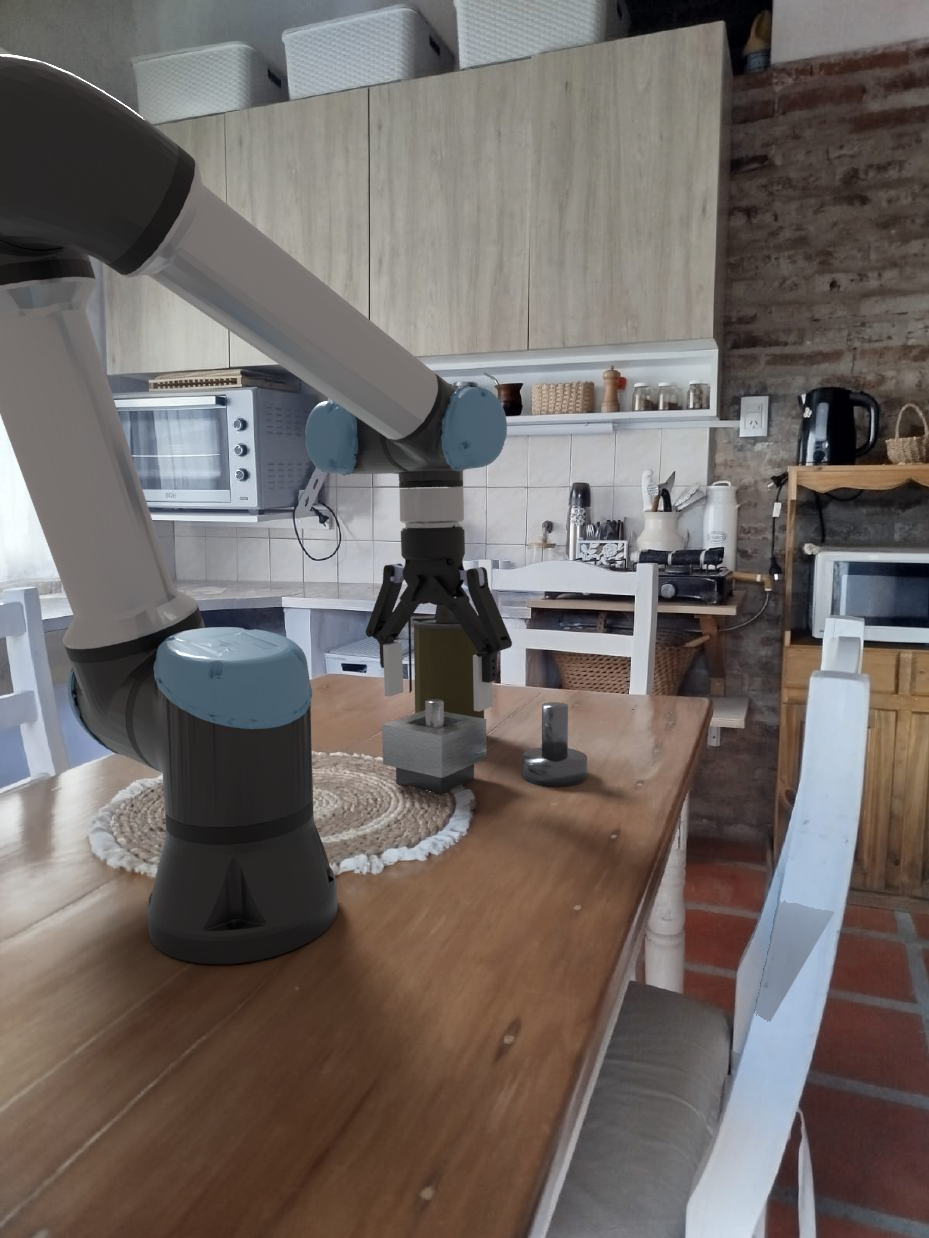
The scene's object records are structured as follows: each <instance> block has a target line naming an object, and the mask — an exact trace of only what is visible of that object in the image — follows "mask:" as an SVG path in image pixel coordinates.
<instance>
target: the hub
mask: <svg viewBox="0 0 929 1238" xmlns="http://www.w3.org/2000/svg"><path fill="white" fill-rule="evenodd" d="M568 743H569V704H567V703H564V702H557V701H555V702H554V701H553V702H551V701H549V702H545V703H542V704H541V747H537V748H532V749H529V750H527V751H524V752H523V754H522V755H521V756H522V759H521V761H522V769H521V772H522V778H523V779H524V780H525V781H526V782H529V783H531V784H534V785H538V786H542V787H543V786H544V787H552V788H553V787H559V788H560V787H570V786H571V787H572V786H576V785H579V784H581V783H584V782H585V781H586V780H587V779H588V755H586V753H585V752H582V751H580V750H578V749H572V748H568V747H569V744H568Z"/></svg>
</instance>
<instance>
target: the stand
mask: <svg viewBox="0 0 929 1238" xmlns="http://www.w3.org/2000/svg"><path fill="white" fill-rule="evenodd" d="M425 708H426V727H430V728H435V729H441V728H443V727H444V701H443V700H439V699H431V700H427V701H425ZM474 779H475V764H473V765H471V766H468V767H466V768H464V769H462V770H459V771H457V772H455V773H453V774H450V775H448V776H446V777H443V778H440V777H436V776H431V775H427V774H423V773H418V772H414V771H410V770H405V769H401V768H397V767H395V782H396V784H397V785H402V786H406V787H409V788H413V787H415V788H414V789H417V788H418V789H417V790H422V791H425V790H428V791H427V792H429V791H431V792H430V793H433V792H434V794H438V795H442V794H445V793H447V792H449V791H451V790H453V789H456V788H457V787H459V786H462V785H464V784H466V783H468V782H471V781H473V780H474Z"/></svg>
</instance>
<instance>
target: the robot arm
mask: <svg viewBox="0 0 929 1238" xmlns="http://www.w3.org/2000/svg"><path fill="white" fill-rule="evenodd" d="M90 257H93V258H94V259H96V260H98V261H100V262H101V263H103V264H105V265H106V266H107V267H109V268H111V269H112V270H113V271H115V272H117V273H118V274H120V275H121V276H123V277H125V278H127V279H130V278H133V277H139V276H140V277H141V276H149V277H150V278H151V279H152V280H154V281H156V282H157V283H159V284H160V285H162V287H164V288H166V289H167V290H169V291H171V292H172V293H173V294H175V295H176V296H178V297H179V298H180V299H182V300H184V301H185V302H187V303H188V304H190V305H191V306H193V307H194V308H195V309H197V310H198V311H199V312H200V313H203V314H204V315H206V316H208V318H210V319H211V320H212V321H214V322H216V323H218V324H219V325H220V326H222V327H224V328H225V329H226V330H228V331H229V332H231V333H232V334H234V335H235V336H237V337H238V338H240V339H241V340H243V341H244V342H246V343H247V344H249V345H250V346H251V347H253V348H255V349H256V350H257V351H259V352H260V353H261V354H263V355H265V356H266V357H268V359H270V360H272V361H273V362H275V363H276V364H278V365H280V366H281V367H282V368H284V369H285V370H287V371H288V372H290V373H291V374H293V375H294V376H296V377H297V378H299V379H300V380H301V381H303V382H304V383H306V384H307V385H309V386H310V387H311V388H313V389H315V390H316V391H318V392H319V393H320V394H322V395H323V396H325V397H327V398H328V399H329V400H324V401H322V402H320V403H318V404H316V405H315V407H314V408H313V409H312V410H311V411H310V413H309V415H308V417H307V420H306V425H305V430H304V431H305V433H304V434H305V448H306V451H307V454H308V457H309V459H310V461H311V462H312V464H313V465H314V467H316V469H318V470H320V471H321V472H323V473H325V474H336V475H337V474H340V475H342V476H349V475H380V474H381V475H383V474H384V475H385V474H394V475H398V482H399V483H398V488H399V521H400V522H401V523H402V524H405V527H402V529H401V530H400V548H401V549H400V550H401V551H400V554H401V557H402V558H403V559H404V565H403V564H402V563H392V564H385V565H384V567H383V569H382V571H383V573H382V583H381V586H380V589H379V591H378V595H377V598H376V601H375V604H374V607H373V610H372V612H371V615H370V618H369V621H368V623H367V626H366V629H365V635H366V637H368V638H373V639H374V640H376V641H377V643H378V645H379V664H380V667H381V668H382V669H383V676H384V677H383V678H384V680H383V681H384V683H383V684H384V696H385V697H388V698H389V697H392V696H393V697H394V696H397V695H399V694H402V693H404V671H403V670H404V669H403V642H402V641H399V640H400V637H399V635H400V633H401V632H402V631H403V629H404V627H405V626H406V625H407V624H408V620H409V619H410V618H411V617H413V615H414V613H415V611H416V610H417V608H418V607H419V606H420V605H426V604H431V605H435V606H437V605H443V604H444V605H445V607H446V608H447V609H449V610H451V611H452V613H453V614H454V616H455V617H456V619H457V620H458V622H459V623H460V625H461V626H462V628H463V629H464V631H465V632H466V634H467V635H468V637H469V638H470V640H471V641H472V643H473V644H474V646H475V647H476V649H477V650H478V654H476V655H473V688H474V711H482V710H484V711H485V710H486V709H490V708H492V707H493V682H495V681H496V680H497V678H498V653H499V652H501V651H504V650H506V649H509V648H511V647H512V645H513V641H512V639H511V635H510V634H509V632H508V630H507V626H506V623H504V620H503V617H502V614H501V613H500V611H499V607H498V605H497V603H496V600H495V598H494V596H493V594H492V590H491V588H490V587H489V579H488V571H487V568H486V567H484V566H479V567H475V568H474V567H473V568H469V569H465V568H464V564H463V559H464V556H465V555H466V546H465V544H466V542H465V538H466V537H465V529H464V527H463V526H460V523H461V522H463V521H464V520H465V505H464V504H465V502H464V500H465V499H464V471H465V470H471V469H478V468H479V469H480V468H484V467H487V466H489V465H490V464H492V463H493V462H494V461H496V460H497V459H498V457H499V456H500V455H501V453H502V451H503V449H504V445H505V442H506V439H507V434H508V433H507V432H508V423H507V417H506V412H505V410H504V407H503V404H502V403H501V402H500V400H499V398H498V397H497V396H496V394H494V393H493V392H492V391H491V390H489V389H487V388H484V387H481V386H472V387H471V386H469V385H462V386H459V388H457V387H454V386H452V385H451V384H450V383H449V382H447V381H446V380H445V379H444V378H442V376H439V375H438V374H437V373H436V372H434V371H433V369H431V368H429V367H428V366H427V365H426V364H425V363H423V362H422V361H421V360H420V359H418V358H417V357H416V356H415V355H413V354H412V353H411V352H409V351H408V349H406V348H405V347H403V346H402V344H400V343H399V342H398V341H396V340H395V339H394V338H392V337H391V336H390V335H388V333H386V332H385V331H384V330H383V329H381V328H380V327H379V326H378V325H377V324H375V322H373V321H372V320H370V319H369V318H368V317H367V316H366V315H364V314H363V313H362V312H360V311H359V310H358V309H356V307H354V306H353V305H352V304H350V303H349V302H348V301H347V300H345V299H344V298H343V297H342V296H341V295H339V294H338V293H337V292H336V291H335V290H334V289H333V288H331V287H330V286H328V285H327V284H326V283H325V282H323V281H322V280H321V279H320V278H318V277H317V276H316V275H315V274H314V273H313V272H311V271H310V270H309V269H307V267H305V266H304V265H303V264H302V263H300V262H299V261H298V260H297V259H296V258H294V257H293V256H291V255H290V254H289V253H288V252H287V251H285V250H284V249H283V248H282V247H281V246H279V245H278V244H277V243H275V242H274V241H273V240H272V239H270V238H269V237H268V236H267V235H266V234H264V233H263V232H262V231H261V230H260V229H259V228H257V227H256V226H255V225H254V224H252V223H251V222H250V221H248V220H247V219H246V218H245V217H244V216H242V215H241V214H240V213H239V212H238V211H236V210H235V209H234V208H233V207H231V206H230V205H229V204H228V203H227V202H225V201H224V200H223V199H222V198H220V197H219V196H218V195H217V194H215V193H214V192H213V191H212V190H210V189H209V188H208V187H207V186H206V185H204V184H203V181H202V177H201V171H200V166H199V163H198V161H197V159H195V157H193V156H192V155H191V154H189V153H188V152H187V151H186V150H185V149H183V148H182V147H180V145H178V144H177V142H175V141H174V140H172V139H171V138H170V137H169V136H167V135H166V134H165V133H164V132H162V131H161V130H160V129H159V128H157V127H156V126H155V125H154V124H152V122H150V121H149V120H147V119H146V118H144V117H143V116H141V115H140V114H139V113H137V112H136V111H135V110H133V109H131V108H130V107H129V106H127V105H125V104H124V103H123V102H121V101H120V100H118V99H117V98H115V97H113V96H112V95H110V94H109V93H107V92H105V90H103V89H100V88H99V87H97V86H95V85H93V84H92V83H90V82H88V81H86V80H85V79H82V78H81V77H79V76H77V75H76V74H74V73H72V72H69V71H66V70H64V69H62V68H59V67H57V66H54V65H52V64H49V63H47V62H45V61H42V60H38V59H34V58H30V57H25V56H21V55H13V54H0V418H1V420H2V423H3V426H4V429H5V432H6V434H7V436H8V440H9V442H10V446H11V447H12V450H13V454H14V456H15V459H16V461H17V463H18V467H19V470H20V473H21V475H22V478H23V480H24V483H25V486H26V489H27V492H28V494H29V497H30V500H31V501H32V502H31V503H32V504H33V505H32V506H33V508H34V511H35V513H36V515H37V519H38V522H39V524H40V527H41V530H42V533H43V536H44V537H45V541H46V543H47V547H48V549H49V551H50V555H51V557H52V560H53V563H54V565H55V568H56V571H57V574H58V576H59V579H60V582H61V585H62V587H63V591H64V592H65V593H64V594H65V595H66V599H67V600H68V604H69V605H70V606H69V607H70V609H71V612H72V614H73V617H72V618H73V619H72V621H71V622H70V624H69V626H68V628H67V629H66V632H65V633H64V635H63V637H62V643H63V646H64V648H65V651H66V654H67V657H68V660H69V661H70V665H71V669H70V671H69V673H68V674H69V675H68V680H67V696H68V701H69V702H68V703H69V706H70V710H71V711H72V713H73V715H74V718H75V719H76V721H77V723H78V724H79V725H80V727H81V728H82V729H83V730H84V731H85V732H86V734H88V736H90V738H91V739H93V740H94V741H96V742H97V744H99V745H100V746H103V747H104V748H106V750H108V751H111V753H114V754H117V755H121V756H124V757H126V758H127V759H128V758H129V759H131V760H132V761H136V762H138V763H140V764H142V765H144V766H147V767H149V768H151V769H153V770H155V771H158V772H159V773H162V784H163V800H164V801H163V802H164V817H165V839H164V844H163V847H162V851H161V853H160V858H159V862H158V866H157V871H156V874H155V878H154V883H153V886H152V887H153V888H152V890H151V893H150V895H149V897H148V901H147V909H146V910H147V911H146V913H147V916H146V917H147V930H148V932H147V933H148V937H149V940H150V942H151V943H152V945H153V946H154V947H155V948H156V949H157V950H158V951H161V952H162V953H163V954H166V955H167V956H169V957H171V958H175V959H178V960H181V961H185V962H190V963H196V964H205V965H206V964H209V965H228V964H229V965H230V964H240V963H241V964H242V963H248V962H256V961H260V960H264V959H269V958H273V957H277V956H280V955H283V954H285V953H288V952H292V951H293V950H296V949H297V948H300V947H303V946H304V945H307V944H309V943H311V942H312V941H313V940H316V938H319V936H320V935H322V934H323V933H324V932H326V930H328V929H329V928H330V926H331V925H332V924H333V922H334V921H335V920H336V917H337V915H338V909H339V904H338V903H339V902H338V882H337V879H336V875H335V872H334V870H333V869H332V868H331V865H330V862H329V858H328V855H327V851H326V850H325V846H324V843H323V841H322V838H321V837H320V834H319V831H318V828H317V825H316V821H315V816H314V814H315V813H314V787H313V783H314V782H313V781H314V780H313V754H312V753H313V752H312V748H313V747H312V746H313V745H312V712H311V711H312V710H311V709H312V707H311V706H312V705H311V704H312V703H311V702H312V698H313V688H312V685H311V680H310V671H309V666H308V660H307V657H306V654H305V652H304V650H303V649H302V648H301V647H300V646H299V644H298V643H296V642H295V641H293V640H292V639H290V638H288V637H286V636H283V635H282V634H278V633H275V632H272V631H267V630H262V629H245V628H243V627H233V626H231V627H229V626H222V627H220V626H219V627H215V626H214V627H206V626H205V623H204V619H203V617H202V614H201V609H200V607H199V603H198V602H197V599H195V598H194V597H192V596H190V595H188V594H185V593H184V592H182V591H179V589H178V588H176V587H175V586H174V584H173V581H172V578H171V575H170V571H169V568H168V565H167V561H166V559H165V555H164V553H163V550H162V547H161V542H160V540H159V537H158V534H157V529H156V528H155V524H154V520H153V518H152V515H151V511H150V508H149V506H148V502H147V499H146V496H145V493H144V490H143V487H142V484H141V481H140V476H139V475H138V471H137V468H136V465H135V461H134V458H133V455H132V452H131V449H130V446H129V443H128V440H127V437H126V434H125V430H124V428H123V424H122V421H121V418H120V414H119V411H118V409H117V405H116V401H115V399H114V397H113V396H114V395H113V393H112V390H111V386H110V384H109V380H108V377H107V374H106V371H105V367H104V364H103V361H102V358H101V355H100V352H99V349H98V346H97V343H96V339H95V336H94V333H93V330H92V328H91V324H90V322H89V321H90V320H89V318H88V315H87V312H86V310H87V304H88V303H89V301H90V299H91V297H92V295H93V294H94V293H95V290H96V289H97V288H98V282H97V279H96V275H95V272H94V268H93V265H92V262H91V258H90ZM404 581H405V583H406V585H407V586H406V588H405V589H404V591H403V592H402V594H401V595H400V593H401V590H402V587H403V582H404ZM463 584H464V586H465V587H467V588H468V593H469V595H468V594H467V592H466V591H465V590H464V588H463V587H462V586H463ZM399 595H400V597H399ZM398 598H399V602H398V604H397V601H398ZM470 599H471V601H472V603H473V605H474V607H473V605H472V604H471V603H470ZM396 604H397V605H396Z"/></svg>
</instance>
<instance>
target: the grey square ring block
mask: <svg viewBox="0 0 929 1238" xmlns="http://www.w3.org/2000/svg"><path fill="white" fill-rule="evenodd" d="M381 727H382V729H381V730H382V731H381V733H382V765H385V766H389V767H393V768H396V767H397V768H401V769H405V770H410V771H414V772H418V773H423V774H427V775H431V776H436V777H440V778H443V777H446V776H448V775H450V774H453V773H455V772H457V771H459V770H462V769H464V768H466V767H468V766H471V765H473V764H474V765H476V764H477V763H479V762H481V761H484V760H486V759H487V719H486V718H484V719H483V718H477V717H472V716H466V715H460V714H454V713H449V712H444V727H443V728H441V729H435V728H430V727H426V710H424V711H421V712H418V713H415V712H414V713H412V714H409V715H406V716H402V717H400V718H397V719H394V720H391V721H387V722H384V723H382V725H381Z"/></svg>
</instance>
